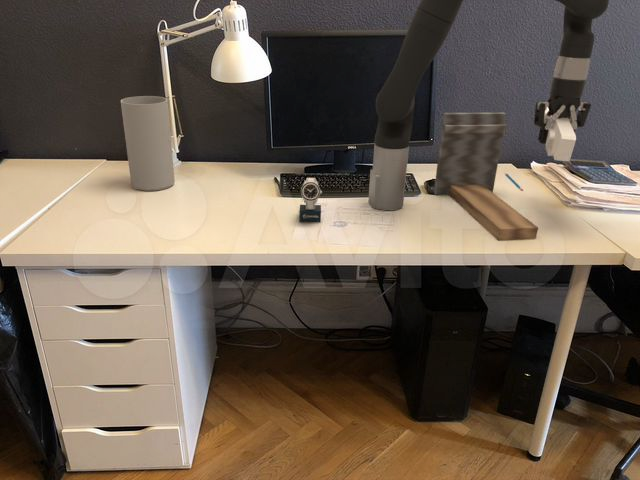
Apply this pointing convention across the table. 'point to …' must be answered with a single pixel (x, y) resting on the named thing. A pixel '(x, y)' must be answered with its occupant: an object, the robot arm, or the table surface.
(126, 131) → the cylinder vase
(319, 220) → the watch
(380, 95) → the robot arm
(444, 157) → the cleat wall board
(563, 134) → the shelf bracket
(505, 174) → the pencil
